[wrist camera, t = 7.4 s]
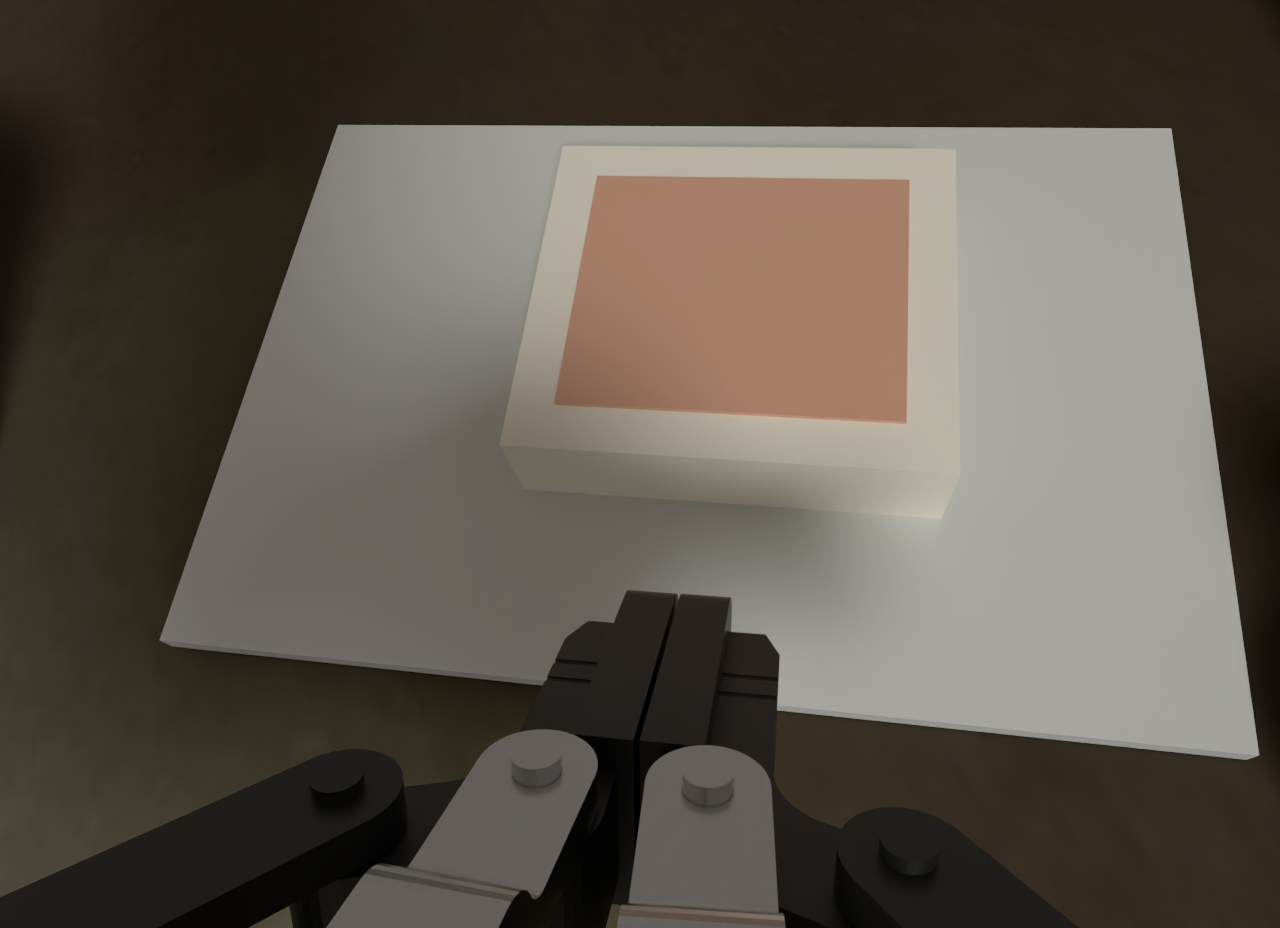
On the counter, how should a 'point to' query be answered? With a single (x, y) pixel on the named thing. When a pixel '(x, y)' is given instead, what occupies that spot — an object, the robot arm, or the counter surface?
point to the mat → (732, 533)
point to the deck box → (745, 329)
